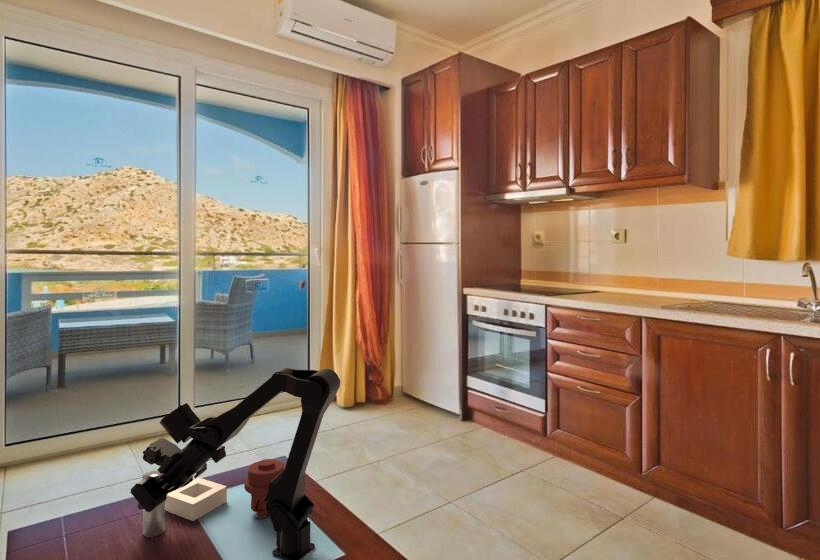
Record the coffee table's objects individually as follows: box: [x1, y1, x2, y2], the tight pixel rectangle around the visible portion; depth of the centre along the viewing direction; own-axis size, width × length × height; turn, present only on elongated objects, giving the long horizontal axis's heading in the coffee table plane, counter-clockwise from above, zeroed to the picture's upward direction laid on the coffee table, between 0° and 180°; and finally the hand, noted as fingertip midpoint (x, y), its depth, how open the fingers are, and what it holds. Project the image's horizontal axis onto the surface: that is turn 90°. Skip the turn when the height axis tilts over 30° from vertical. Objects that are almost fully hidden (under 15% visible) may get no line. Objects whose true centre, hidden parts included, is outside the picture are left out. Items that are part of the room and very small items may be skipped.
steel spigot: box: [141, 470, 166, 538], centre depth 108 cm, size 5×5×13 cm
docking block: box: [165, 477, 228, 522], centre depth 119 cm, size 10×10×4 cm
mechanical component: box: [243, 458, 285, 520], centre depth 117 cm, size 12×10×10 cm
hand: (148, 501), depth 108 cm, fingers open, 5 cm apart
